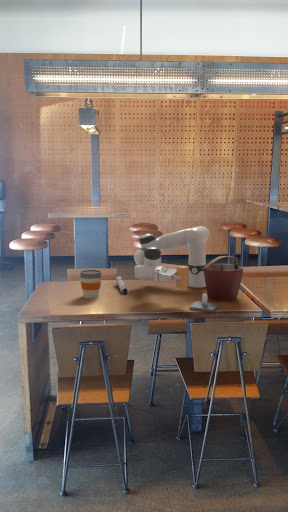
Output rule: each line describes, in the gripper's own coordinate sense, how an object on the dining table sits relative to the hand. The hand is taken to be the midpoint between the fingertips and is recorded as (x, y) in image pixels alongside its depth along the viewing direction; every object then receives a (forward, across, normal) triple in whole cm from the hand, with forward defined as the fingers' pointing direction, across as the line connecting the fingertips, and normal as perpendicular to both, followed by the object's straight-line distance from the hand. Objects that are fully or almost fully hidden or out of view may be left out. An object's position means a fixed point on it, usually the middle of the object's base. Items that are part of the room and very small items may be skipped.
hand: (184, 276), depth 247 cm
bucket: (+16, -26, -17) cm, 35 cm away
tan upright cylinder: (-1, 0, -6) cm, 6 cm away
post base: (+12, -1, -17) cm, 21 cm away
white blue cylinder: (-48, -22, -18) cm, 56 cm away
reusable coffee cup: (-57, +2, -17) cm, 60 cm away
